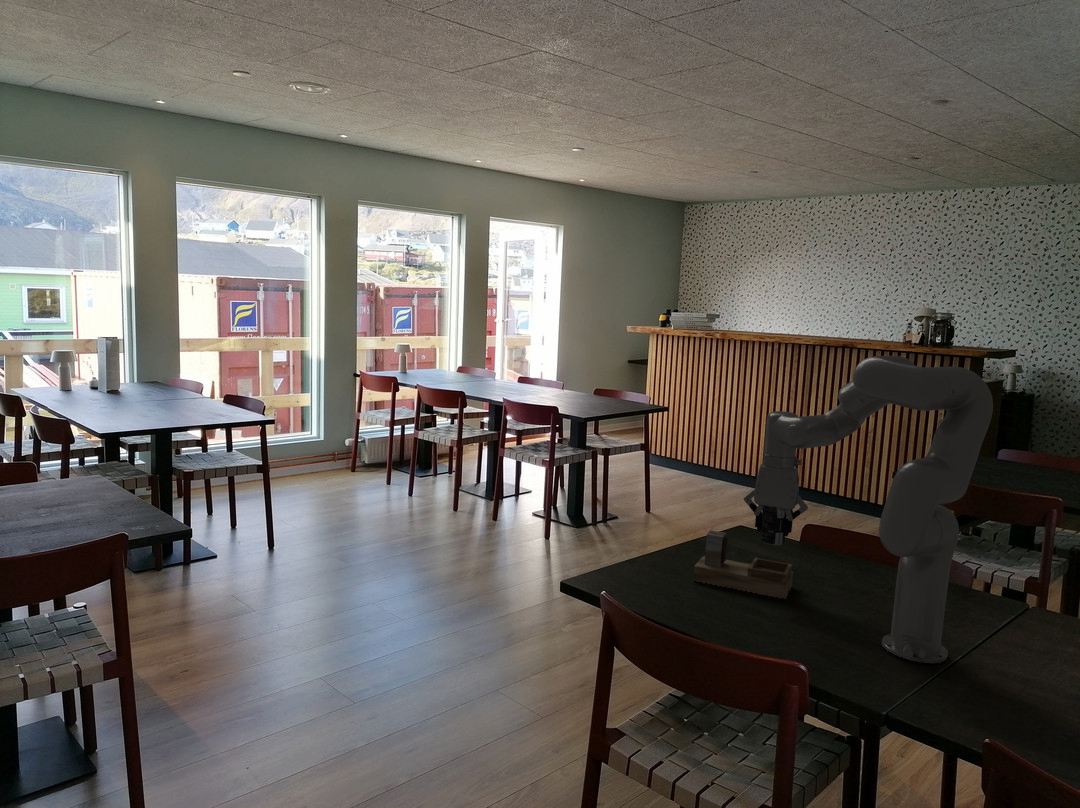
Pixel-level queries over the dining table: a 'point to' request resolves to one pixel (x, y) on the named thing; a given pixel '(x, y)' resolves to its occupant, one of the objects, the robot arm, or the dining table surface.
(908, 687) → the dining table surface
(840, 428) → the robot arm
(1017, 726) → the dining table surface
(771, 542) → the pill bottle
